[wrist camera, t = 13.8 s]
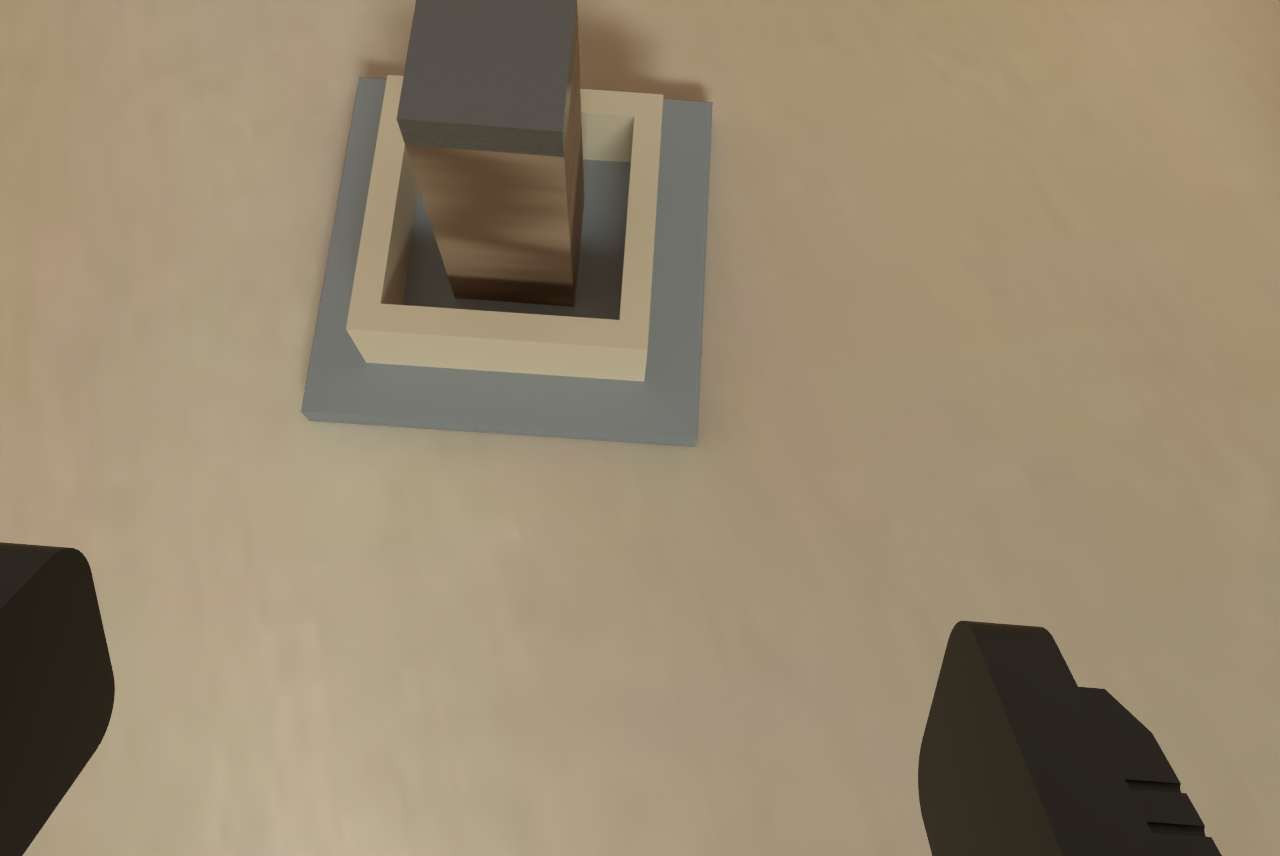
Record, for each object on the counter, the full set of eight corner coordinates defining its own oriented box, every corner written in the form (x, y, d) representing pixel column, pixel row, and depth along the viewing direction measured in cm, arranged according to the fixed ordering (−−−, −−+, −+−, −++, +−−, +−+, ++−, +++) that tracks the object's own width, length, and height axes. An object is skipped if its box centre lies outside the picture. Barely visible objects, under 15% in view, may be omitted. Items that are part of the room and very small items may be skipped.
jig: (709, 117, 41) (720, 52, 38) (695, 446, 37) (705, 410, 33) (365, 93, 41) (340, 25, 37) (309, 420, 37) (274, 381, 33)
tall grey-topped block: (584, 201, 39) (576, -4, 28) (574, 307, 37) (562, 131, 27) (469, 193, 39) (419, -16, 28) (455, 297, 37) (396, 118, 27)
